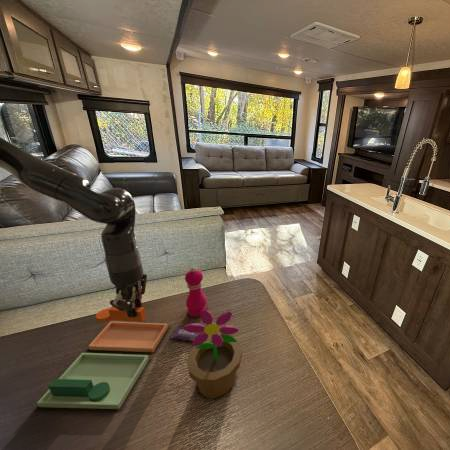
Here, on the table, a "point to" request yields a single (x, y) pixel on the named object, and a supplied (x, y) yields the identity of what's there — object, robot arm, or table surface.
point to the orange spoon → (119, 315)
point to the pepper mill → (195, 293)
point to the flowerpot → (214, 355)
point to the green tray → (100, 379)
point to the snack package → (184, 334)
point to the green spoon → (79, 389)
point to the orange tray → (129, 337)
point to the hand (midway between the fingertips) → (135, 313)
